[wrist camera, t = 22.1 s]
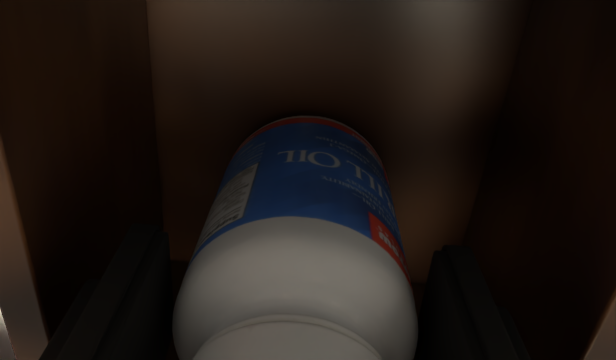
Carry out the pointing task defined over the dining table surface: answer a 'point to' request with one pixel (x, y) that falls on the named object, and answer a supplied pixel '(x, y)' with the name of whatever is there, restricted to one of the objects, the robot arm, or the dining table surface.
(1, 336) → the dining table surface
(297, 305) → the pill bottle
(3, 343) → the dining table surface
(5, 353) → the dining table surface
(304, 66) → the chest
